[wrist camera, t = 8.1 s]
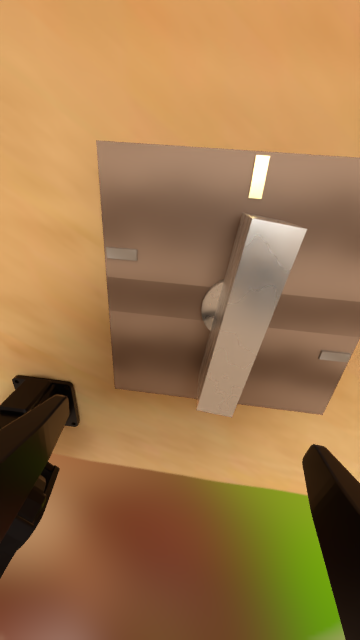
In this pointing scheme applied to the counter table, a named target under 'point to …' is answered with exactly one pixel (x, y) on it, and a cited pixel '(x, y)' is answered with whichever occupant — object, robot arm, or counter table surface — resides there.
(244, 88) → the counter table surface
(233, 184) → the lock plate
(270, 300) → the t key
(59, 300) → the counter table surface
